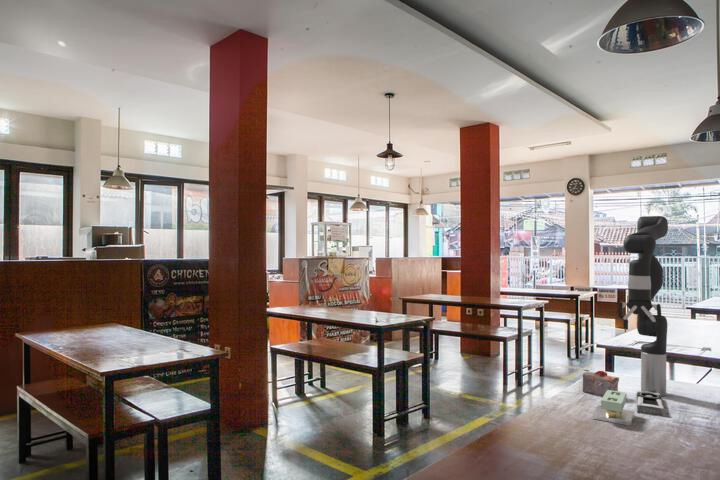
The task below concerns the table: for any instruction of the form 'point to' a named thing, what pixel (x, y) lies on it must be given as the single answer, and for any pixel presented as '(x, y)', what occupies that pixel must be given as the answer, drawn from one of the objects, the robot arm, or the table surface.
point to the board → (613, 405)
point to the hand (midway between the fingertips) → (639, 330)
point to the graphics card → (650, 403)
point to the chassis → (614, 415)
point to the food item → (599, 383)
